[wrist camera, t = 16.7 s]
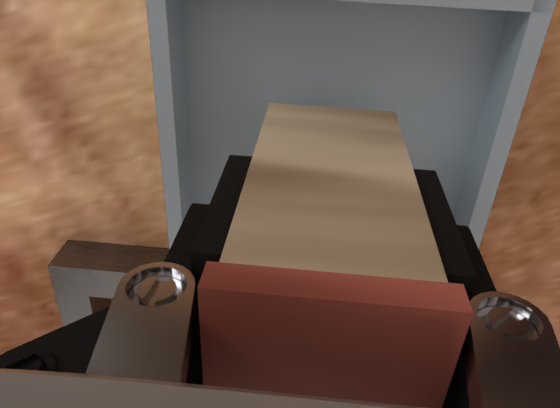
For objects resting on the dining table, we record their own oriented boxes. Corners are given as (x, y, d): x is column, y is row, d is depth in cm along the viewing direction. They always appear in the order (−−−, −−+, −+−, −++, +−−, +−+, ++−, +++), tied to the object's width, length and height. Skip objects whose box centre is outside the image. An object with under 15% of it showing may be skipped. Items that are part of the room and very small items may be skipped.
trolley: (425, 247, 22) (449, 339, 18) (208, 228, 23) (175, 313, 18) (498, -55, 16) (568, -38, 11) (195, -71, 17) (140, -61, 12)
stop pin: (381, 222, 15) (420, 471, 9) (261, 212, 16) (206, 448, 9) (401, 106, 13) (473, 313, 7) (264, 97, 14) (196, 287, 7)
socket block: (231, 367, 28) (224, 397, 26) (93, 353, 28) (78, 382, 27) (229, 254, 24) (221, 281, 22) (67, 240, 24) (47, 265, 22)
